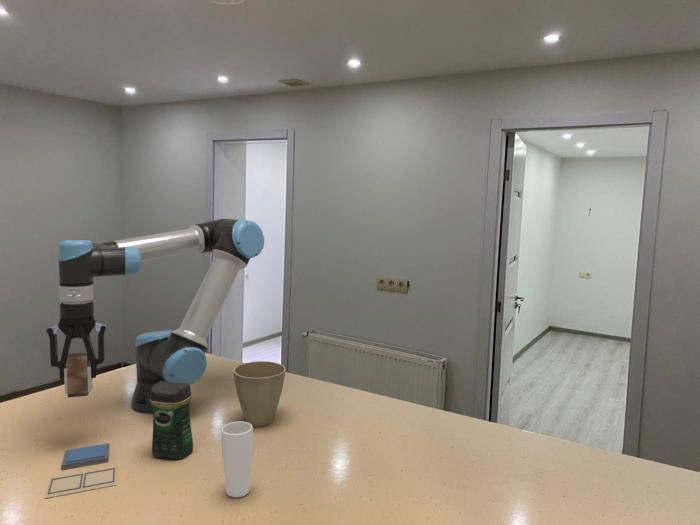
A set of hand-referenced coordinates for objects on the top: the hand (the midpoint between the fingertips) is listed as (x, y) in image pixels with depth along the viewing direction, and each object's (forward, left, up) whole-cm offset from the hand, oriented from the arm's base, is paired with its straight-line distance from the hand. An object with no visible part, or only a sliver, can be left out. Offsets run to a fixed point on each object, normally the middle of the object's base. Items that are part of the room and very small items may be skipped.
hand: (78, 390), depth 130 cm
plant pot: (-47, +2, -15) cm, 49 cm away
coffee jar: (-22, +12, -15) cm, 29 cm away
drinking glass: (-34, +36, -15) cm, 51 cm away
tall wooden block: (0, 0, -1) cm, 1 cm away
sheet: (-2, +18, -15) cm, 24 cm away
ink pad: (-2, +7, -15) cm, 17 cm away
